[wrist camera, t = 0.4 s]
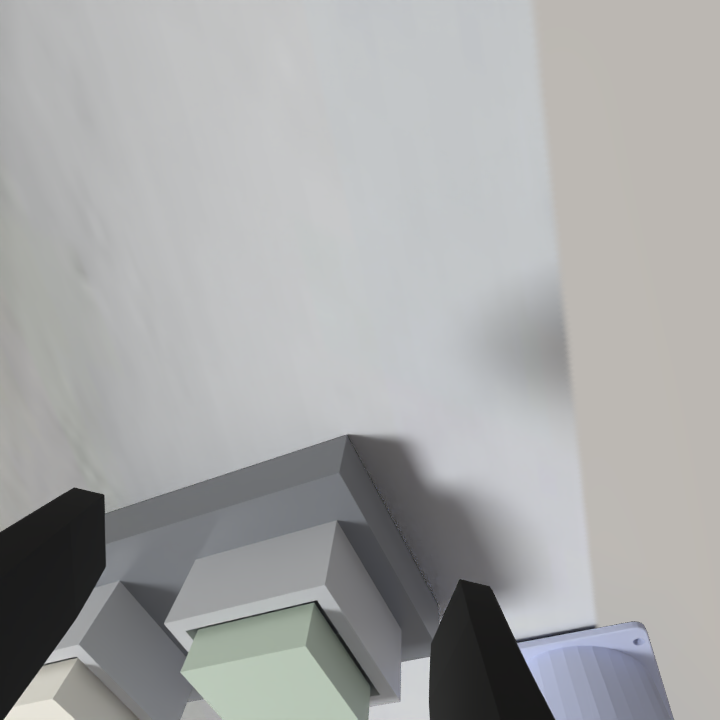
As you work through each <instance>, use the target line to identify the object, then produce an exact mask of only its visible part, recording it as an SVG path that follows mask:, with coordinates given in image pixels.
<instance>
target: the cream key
mask: <svg viewBox="0 0 720 720" xmlns="http://www.w3.org/2000/svg"><path fill="white" fill-rule="evenodd" d="M4 720H140V719H139V718H138V717H137V716H136V715H135V714H134V713H133V712H132V711H131V710H130V709H129V708H128V707H127V706H126V705H125V704H124V703H123V702H122V701H121V700H120V699H119V698H118V697H117V696H116V695H115V694H114V693H113V692H112V691H111V690H110V689H109V688H108V687H107V686H106V685H105V684H104V683H103V682H102V681H101V680H100V679H99V678H98V677H97V676H96V675H95V674H94V673H93V672H92V671H91V670H90V669H89V668H88V667H87V666H86V665H85V664H84V663H83V662H82V661H81V660H80V659H79V658H74V659H70V660H66V661H61V662H57V663H53V664H49V665H44V666H42V668H41V669H40V670H39V672H38V673H37V675H36V676H35V677H34V679H33V680H32V681H31V683H30V684H29V686H28V687H27V688H26V690H25V691H24V692H23V694H22V695H21V697H20V698H19V699H18V701H17V702H16V703H15V705H14V706H13V708H12V709H11V710H10V712H9V713H8V715H7V716H6V717H5V719H4Z"/></svg>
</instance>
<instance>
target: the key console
mask: <svg viewBox="0 0 720 720" xmlns="http://www.w3.org/2000/svg"><path fill="white" fill-rule="evenodd" d="M105 545H106V568H105V570H104V571H103V573H102V575H101V577H100V579H99V580H98V582H97V584H96V586H95V587H94V589H93V591H92V593H91V595H90V596H89V598H88V600H87V601H86V603H85V605H84V607H83V608H82V610H81V612H80V613H79V615H78V617H77V618H76V620H75V621H74V623H73V624H72V626H71V627H70V628H69V630H68V631H67V633H66V634H65V636H64V637H63V638H62V640H61V641H60V643H59V644H58V645H57V647H56V648H55V650H54V651H53V652H52V654H51V655H50V656H49V658H48V659H47V661H46V662H45V663H44V665H49V664H53V663H57V662H61V661H66V660H70V659H74V658H79V659H80V660H81V661H82V662H83V663H84V664H85V665H86V666H87V667H88V668H89V669H90V670H91V671H92V672H93V673H94V674H95V675H96V676H97V677H98V678H99V679H100V680H101V681H102V682H103V683H104V684H105V685H106V686H107V687H108V688H109V689H110V690H111V691H112V692H113V693H114V694H115V695H116V696H117V697H118V698H119V699H120V700H121V701H122V702H123V703H124V704H125V705H126V706H127V707H128V708H129V709H130V710H131V711H132V712H133V713H134V714H135V715H136V716H137V717H138V718H139V719H140V720H180V719H181V716H182V714H183V711H184V709H185V706H186V703H187V702H191V701H197V700H202V699H204V698H203V697H202V696H201V695H200V694H199V693H198V692H197V690H196V689H195V688H194V687H193V686H192V685H191V684H190V683H189V681H188V680H187V679H186V678H185V677H184V676H183V675H182V674H181V673H180V671H181V669H182V667H183V664H184V662H185V660H186V657H187V655H188V652H189V650H190V648H191V645H192V643H193V641H194V638H195V636H196V634H197V631H198V630H199V629H203V628H207V627H211V626H216V625H220V624H224V623H229V622H233V621H237V620H241V619H246V618H250V617H254V616H259V615H263V614H267V613H271V612H276V611H280V610H284V609H288V608H293V607H297V606H301V605H306V604H310V603H315V605H316V606H317V608H318V609H319V610H320V612H321V613H322V615H323V616H324V618H325V619H326V621H327V622H328V624H329V625H330V627H331V628H332V630H333V631H334V633H335V634H336V636H337V637H338V639H339V640H340V642H341V643H342V645H343V646H344V648H345V649H346V651H347V652H348V654H349V655H350V657H351V658H352V660H353V661H354V663H355V664H356V666H357V667H358V668H359V670H360V671H361V673H362V674H363V676H364V677H365V679H366V680H367V682H368V683H369V685H370V701H369V707H371V706H377V705H383V704H389V703H395V702H400V694H401V662H404V661H409V660H414V659H420V658H425V657H430V654H431V642H432V640H433V638H434V636H435V634H436V631H437V629H438V627H439V612H438V605H437V603H436V601H435V599H434V597H433V595H432V593H431V591H430V590H429V588H428V586H427V584H426V582H425V580H424V578H423V576H422V575H421V573H420V571H419V569H418V567H417V565H416V563H415V561H414V560H413V558H412V556H411V554H410V552H409V550H408V548H407V546H406V545H405V543H404V541H403V539H402V537H401V535H400V533H399V531H398V530H397V528H396V526H395V524H394V522H393V520H392V518H391V516H390V515H389V513H388V511H387V509H386V507H385V505H384V503H383V501H382V500H381V498H380V496H379V494H378V492H377V490H376V488H375V486H374V485H373V483H372V481H371V479H370V477H369V475H368V473H367V471H366V470H365V468H364V466H363V464H362V462H361V460H360V458H359V456H358V455H357V453H356V451H355V449H354V447H353V445H352V443H351V441H350V440H349V438H348V436H347V435H345V436H342V437H339V438H336V439H333V440H329V441H326V442H323V443H320V444H317V445H314V446H311V447H308V448H305V449H302V450H299V451H296V452H293V453H290V454H287V455H284V456H281V457H277V458H274V459H271V460H268V461H265V462H262V463H259V464H256V465H253V466H250V467H247V468H244V469H241V470H238V471H235V472H232V473H229V474H225V475H222V476H219V477H216V478H213V479H210V480H207V481H204V482H201V483H198V484H195V485H192V486H189V487H186V488H183V489H180V490H177V491H173V492H170V493H167V494H164V495H161V496H158V497H155V498H152V499H149V500H146V501H143V502H140V503H137V504H134V505H131V506H128V507H125V508H121V509H118V510H115V511H112V512H109V513H106V514H105ZM44 665H43V666H44Z"/></svg>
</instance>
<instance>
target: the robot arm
mask: <svg viewBox="0 0 720 720" xmlns="http://www.w3.org/2000/svg"><path fill="white" fill-rule="evenodd" d="M105 568H106V545H105V504H104V495H103V494H99V493H95V492H91V491H86V490H82V489H78V488H73V489H71V490H69V491H68V492H66V493H64V494H62V495H61V496H59V497H57V498H56V499H54V500H52V501H51V502H49V503H47V504H46V505H44V506H42V507H41V508H39V509H37V510H36V511H34V512H33V513H31V514H29V515H28V516H26V517H24V518H23V519H21V520H19V521H18V522H16V523H15V524H13V525H11V526H10V527H8V528H6V529H5V530H3V531H1V532H0V720H4V719H5V717H6V716H7V715H8V713H9V712H10V710H11V709H12V708H13V706H14V705H15V703H16V702H17V701H18V699H19V698H20V697H21V695H22V694H23V692H24V691H25V690H26V688H27V687H28V686H29V684H30V683H31V681H32V680H33V679H34V677H35V676H36V675H37V673H38V672H39V670H40V669H41V668H42V666H43V665H44V663H45V662H46V661H47V659H48V658H49V656H50V655H51V654H52V652H53V651H54V650H55V648H56V647H57V645H58V644H59V643H60V641H61V640H62V638H63V637H64V636H65V634H66V633H67V631H68V630H69V628H70V627H71V626H72V624H73V623H74V621H75V620H76V618H77V617H78V615H79V613H80V612H81V610H82V608H83V607H84V605H85V603H86V601H87V600H88V598H89V596H90V595H91V593H92V591H93V589H94V587H95V586H96V584H97V582H98V580H99V579H100V577H101V575H102V573H103V571H104V570H105ZM429 711H430V720H674V718H673V715H672V712H671V709H670V706H669V702H668V699H667V695H666V692H665V689H664V685H663V682H662V679H661V676H660V672H659V669H658V666H657V662H656V659H655V656H654V652H653V649H652V646H651V643H650V639H649V636H648V633H647V631H646V628H645V627H644V625H643V624H642V623H640V622H635V621H634V622H627V623H621V624H616V625H611V626H606V627H600V628H595V629H589V630H584V631H579V632H573V633H568V634H563V635H557V636H552V637H546V638H541V639H536V640H530V641H525V642H520V643H517V642H516V640H515V638H514V636H513V634H512V632H511V629H510V627H509V625H508V623H507V621H506V619H505V617H504V614H503V612H502V610H501V608H500V606H499V604H498V601H497V599H496V597H495V595H494V593H493V591H492V589H491V588H490V586H486V585H482V584H477V583H473V582H469V581H465V580H461V579H460V580H459V582H458V584H457V587H456V589H455V591H454V593H453V596H452V598H451V600H450V602H449V604H448V607H447V609H446V611H445V613H444V616H443V618H442V620H441V622H440V625H439V627H438V629H437V631H436V634H435V636H434V638H433V640H432V642H431V654H430V680H429Z"/></svg>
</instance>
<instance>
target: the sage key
mask: <svg viewBox="0 0 720 720" xmlns="http://www.w3.org/2000/svg"><path fill="white" fill-rule="evenodd" d="M180 673H181V674H182V675H183V676H184V677H185V678H186V679H187V680H188V681H189V683H190V684H191V685H192V686H193V687H194V688H195V689H196V690H197V692H198V693H199V694H200V695H201V696H202V697H203V698H204V699H205V700H206V702H207V703H208V704H209V705H210V706H211V707H212V708H213V709H214V711H215V712H216V713H217V714H218V715H219V716H220V717H221V718H222V719H223V720H368V715H369V701H370V685H369V683H368V682H367V680H366V679H365V677H364V676H363V674H362V673H361V671H360V670H359V668H358V667H357V666H356V664H355V663H354V661H353V660H352V658H351V657H350V655H349V654H348V652H347V651H346V649H345V648H344V646H343V645H342V643H341V642H340V640H339V639H338V637H337V636H336V634H335V633H334V631H333V630H332V628H331V627H330V625H329V624H328V622H327V621H326V619H325V618H324V616H323V615H322V613H321V612H320V610H319V609H318V608H317V606H316V605H315V603H310V604H306V605H301V606H297V607H293V608H288V609H284V610H280V611H276V612H271V613H267V614H263V615H259V616H254V617H250V618H246V619H241V620H237V621H233V622H229V623H224V624H220V625H216V626H211V627H207V628H203V629H199V630H198V631H197V634H196V636H195V638H194V641H193V643H192V645H191V648H190V650H189V652H188V655H187V657H186V660H185V662H184V664H183V667H182V669H181V671H180Z"/></svg>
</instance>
